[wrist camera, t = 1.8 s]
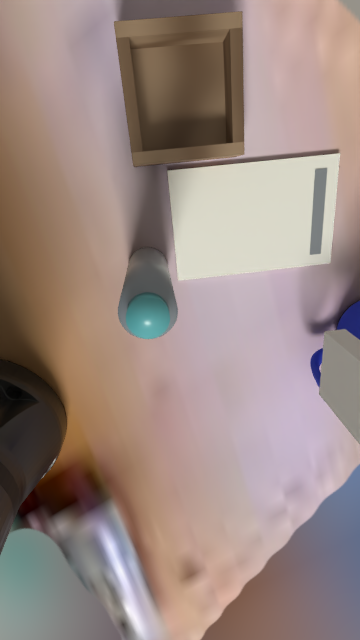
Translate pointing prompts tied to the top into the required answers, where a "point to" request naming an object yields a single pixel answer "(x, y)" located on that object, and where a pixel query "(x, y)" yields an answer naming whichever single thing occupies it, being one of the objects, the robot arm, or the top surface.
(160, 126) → the tray
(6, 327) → the top surface
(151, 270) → the marker
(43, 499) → the top surface
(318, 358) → the mug
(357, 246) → the top surface
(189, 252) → the paper
